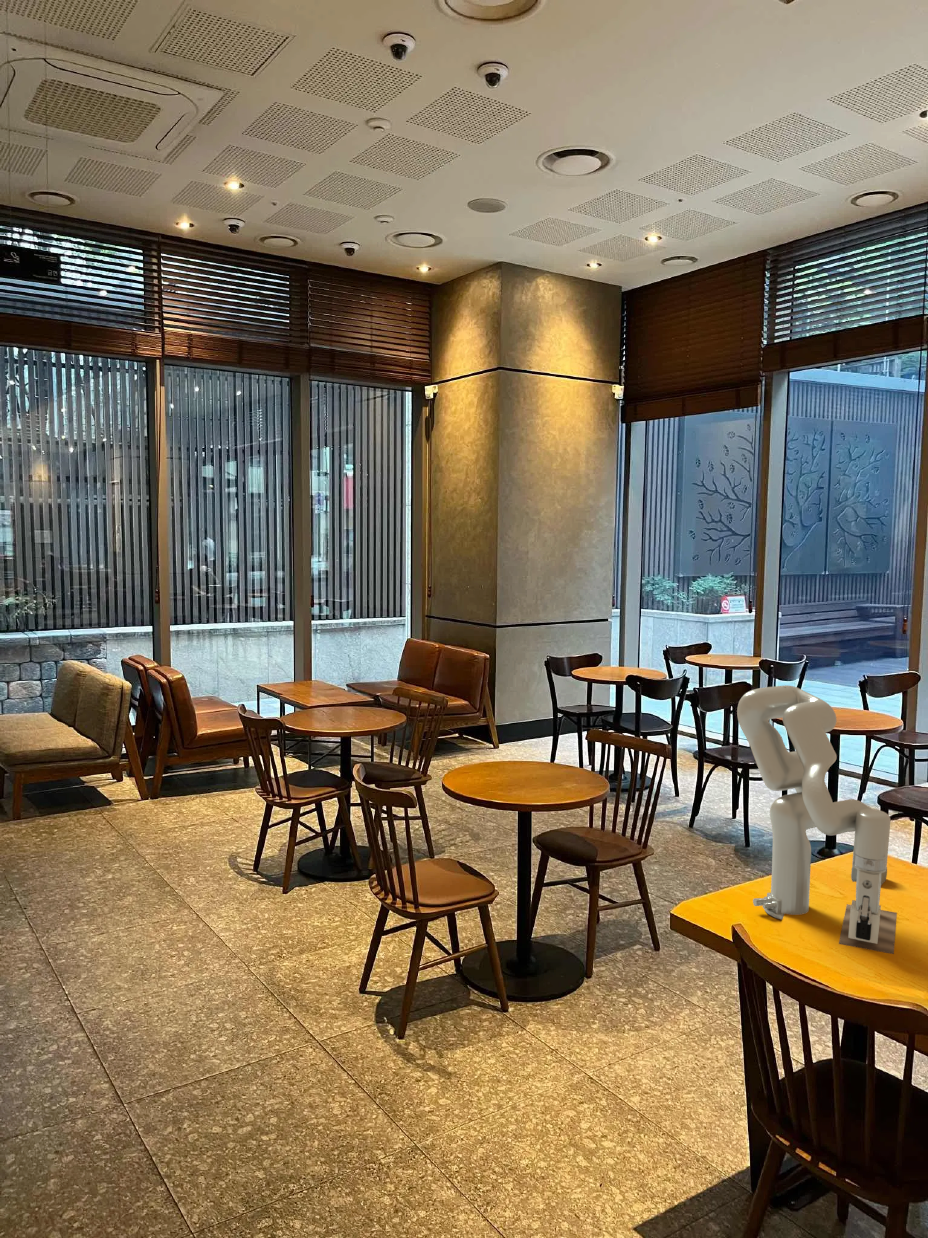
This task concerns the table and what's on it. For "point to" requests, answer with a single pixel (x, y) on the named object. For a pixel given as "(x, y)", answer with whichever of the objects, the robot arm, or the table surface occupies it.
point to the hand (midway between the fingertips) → (863, 932)
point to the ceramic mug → (854, 875)
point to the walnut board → (884, 936)
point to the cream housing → (874, 921)
